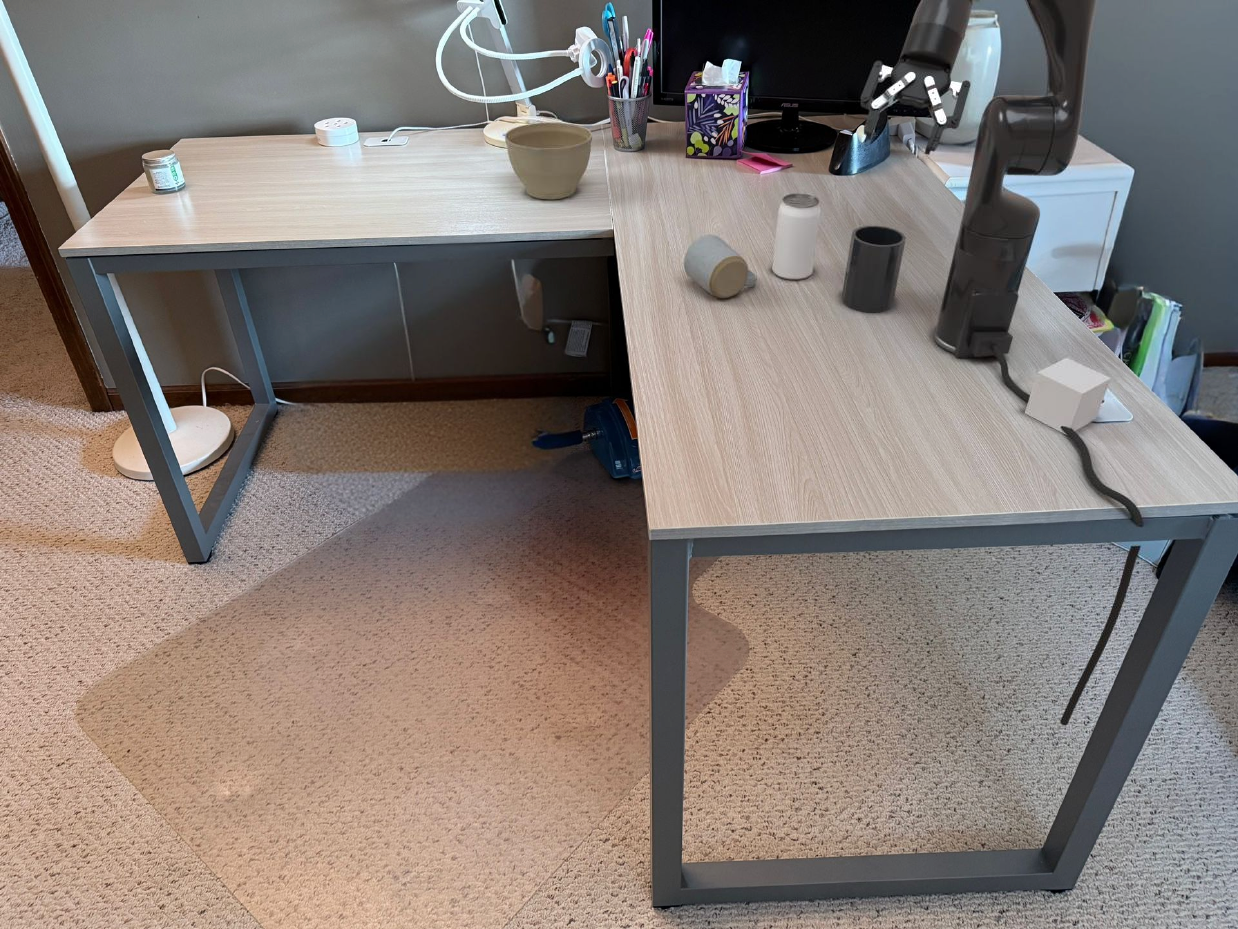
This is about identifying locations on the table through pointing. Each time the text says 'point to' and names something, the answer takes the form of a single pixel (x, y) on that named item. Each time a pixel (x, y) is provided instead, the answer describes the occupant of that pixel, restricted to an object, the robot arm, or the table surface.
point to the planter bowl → (549, 157)
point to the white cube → (1067, 395)
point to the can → (796, 236)
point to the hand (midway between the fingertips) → (897, 145)
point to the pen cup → (873, 268)
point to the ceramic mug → (717, 267)
